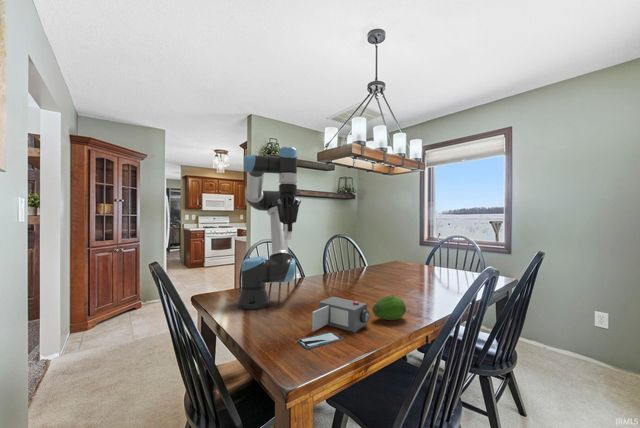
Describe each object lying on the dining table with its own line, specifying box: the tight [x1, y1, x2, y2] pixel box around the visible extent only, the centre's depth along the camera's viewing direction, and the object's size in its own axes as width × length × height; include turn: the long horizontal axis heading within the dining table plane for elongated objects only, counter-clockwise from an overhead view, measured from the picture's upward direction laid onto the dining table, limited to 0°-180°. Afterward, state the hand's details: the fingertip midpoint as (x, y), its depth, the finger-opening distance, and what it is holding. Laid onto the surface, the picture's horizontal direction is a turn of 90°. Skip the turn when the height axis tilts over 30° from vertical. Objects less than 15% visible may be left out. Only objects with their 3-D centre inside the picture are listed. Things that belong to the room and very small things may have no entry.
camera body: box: [318, 296, 370, 333], centre depth 116 cm, size 19×10×9 cm, turn 53°
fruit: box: [371, 295, 407, 321], centre depth 120 cm, size 15×10×10 cm, turn 107°
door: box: [311, 305, 329, 332], centre depth 110 cm, size 10×2×7 cm, turn 142°
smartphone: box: [297, 331, 343, 350], centre depth 100 cm, size 7×1×15 cm
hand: (287, 239), depth 120 cm, fingers closed
